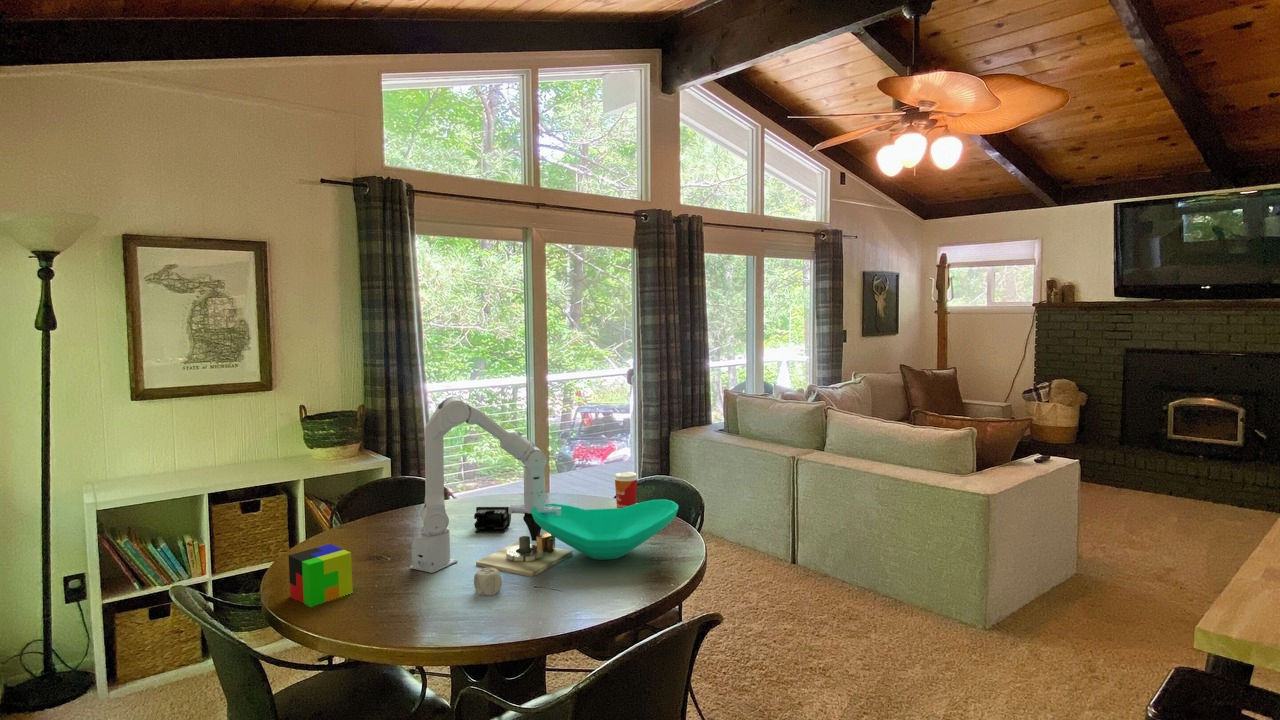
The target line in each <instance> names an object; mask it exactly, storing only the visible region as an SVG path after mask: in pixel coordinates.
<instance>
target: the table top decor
mask: <svg viewBox="0 0 1280 720" xmlns="http://www.w3.org/2000/svg"><path fill="white" fill-rule="evenodd" d="M547 505H549V506H555V507H561V515H560V516H556V515H545V514H543V513H542V512H541V513H538V512H537V509H536V507H534V508H533V509H532V510H531V513H532V516H533V518H534V521H535V522H536V523H537V524H538V525H539V526H540V527H541V530H543V531H544V532H546V533H549V534H551V535H552V536H554V537H555V539H557V540H559V541H560V542H562V543H564V544H566V545H567V546H569V547H571V548H573V549H574V550H576V551H578V552H580V553H581V554H583V555H585V556H586V557H588V558H590V559H593V560H600V561H602V560H605V561H606V560H607V561H608V560H616V559H619V558H621V557H624V556H625V555H626V554H628V553H629V552H631V551H633V550H634V549H636V548H637V547H639V546H640V545H642V544H643V543H645V542H646V541H647V540H649V539H650V538H652V537H654V536H655V535H656V534H658V533H659V532H660V531H662V530H663V529H664V528H666V527H667V526H669V524H670V523H671V522H672V521H673V520H674V519H675V518H676V517H677V513H678V511H679V504H678V503H676V501H674V500H669V499H666V498H665V499H664V498H663V499H651V500H647V501H640V502H636V504H634V505H630V506H627V507H624V508H617V507H616V508H594V509H593V508H592V509H585V508H580V507H576V506H572V505H567V504H560V503H559V504H558V503H545V506H546V507H547Z"/></svg>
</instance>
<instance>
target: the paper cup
mask: <svg viewBox="0 0 1280 720" xmlns="http://www.w3.org/2000/svg"><path fill="white" fill-rule="evenodd" d="M638 479H639V476H638V474H637V473H636V472H635V471H634V472H633V471H622V472H617V473H615V475H614V477H613V480H614V485H615V486H614V487H615V500H616V508H624V507H627V506H630V505H634V504H637V489H638V488H637V487H638Z"/></svg>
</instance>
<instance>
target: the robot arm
mask: <svg viewBox="0 0 1280 720" xmlns="http://www.w3.org/2000/svg"><path fill="white" fill-rule="evenodd" d="M464 423H466V424H467V425H477V426H478V427H480V428H482V429H483V430H484V431H486V432H487V433H489V434H490V435H492V436H493V437H495V438H496V439H497V440H499V445H500V448H501V449H502V450H503V451H505V452H506V453H508V454H509V455H511V456H512V457H514V458H515V459H516V460H517V461H521V463H522V464H523V500H524V501H523V504H515V505H514V504H511V505H509V506H507V507H508V511H509V514H511V515H513V514H519V515H520V514H521V515H523V517H522V519H523V521H524V522H525V524H526V526H527V529H528V531H529V534H530V540H531V542H537V536H539V535H541V530H542V528H541V527H540V526H539V525H538V524H537V523H536V522H535V521H534V518H533V516H532V513H531V510H532V509H533V508H534V507H536V509H537V512H538V513H541V512H542V513H543V514H545V515H556V516H560V515H561V507H555V506H549V505H547V507H546V506H545V504H546V476H545V467H546V466H547V463H548V459H547V457H546V454H545V453H544V452H543V451H542V450H541V449H540V448H538V446H536V443H534V442H533V441H532V442H531V441H529V440H528V439H526V438H525V437H523V433H522V432H520V431H519V430H514V429H511V430H506V429H505V428H503V427H502V426H501V425H500V424H498V423H497V422H496V421H494V420H493V419H492V418H491V417H489V416H488V415H487V414H486V413H485V412H483V411H482V410H480V409H479V408H477V407H476V406H474V405H472V404H471V403H470V402H469V403H468V402H467V401H466V402H464V400H463V399H462V398H461V397H458V396H449V397H447V398H445V399H444V400H442V401H441V402H440V403H439V404H438V405H437V406H436V409H435V411H434V412H433V414H432V415H431V416H430V418H429V420H428V421H427V422H426V425H425V427H424V466H425V467H424V468H425V469H424V473H425V474H424V475H425V476H424V477H425V478H424V479H425V482H424V483H425V486H424V487H425V488H424V490H425V496H424V505H423V507H422V509H421V511H420V515H421V516H420V517H421V519H422V522H423V523H422V524H423V526H422V528H420V533H419V535H418V536H417V537H416V538H414V539H413V541H412V544H411V563H412V564H411V565H410V566H409V568H410V569H413V570H417V571H421V572H426V573H431V574H433V573H436V572H439V571H441V570H442V569H445V568H446V567H449V566H451V565H453V564H455V563H457V562H458V559H457V558H453V557H451V542H450V541H451V537H450V527H449V523H450V519H449V516H448V514H447V513H446V504H445V503H446V502H445V474H444V473H445V472H444V471H445V469H444V468H445V467H444V466H445V464H444V462H445V461H444V459H445V458H444V453H445V452H444V436H445V435H446V434H448V433H449V431H451V430H452V429H453V428H456V427H457V426H459V425H460V426H461V425H462V424H464Z"/></svg>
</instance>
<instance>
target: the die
mask: <svg viewBox="0 0 1280 720" xmlns="http://www.w3.org/2000/svg"><path fill="white" fill-rule="evenodd" d="M502 584H503V581H502V575H501V573H500V570H497V569H496V568H486V567H482V568H480V569H478V570H477V571H476V572H475V574H474V576H473V586H474V587H473V588H474V589H475V592H476V594H478V595H480V596H484V597H485V596H486V597H489V596H494V595H496V594H497V593H499V591H500V590H501V588H502Z"/></svg>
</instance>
